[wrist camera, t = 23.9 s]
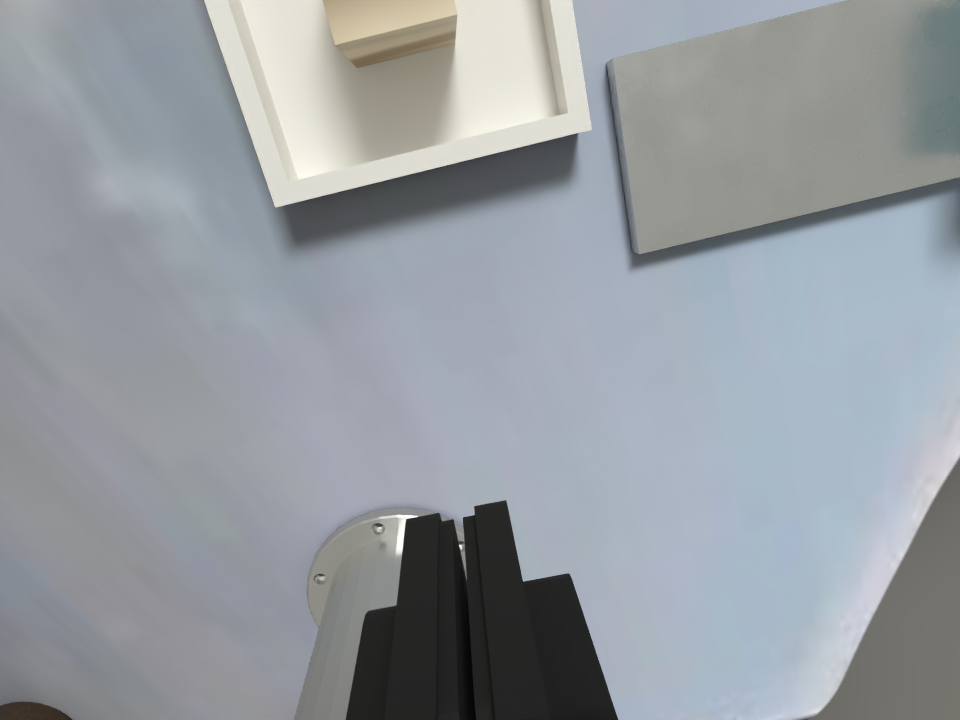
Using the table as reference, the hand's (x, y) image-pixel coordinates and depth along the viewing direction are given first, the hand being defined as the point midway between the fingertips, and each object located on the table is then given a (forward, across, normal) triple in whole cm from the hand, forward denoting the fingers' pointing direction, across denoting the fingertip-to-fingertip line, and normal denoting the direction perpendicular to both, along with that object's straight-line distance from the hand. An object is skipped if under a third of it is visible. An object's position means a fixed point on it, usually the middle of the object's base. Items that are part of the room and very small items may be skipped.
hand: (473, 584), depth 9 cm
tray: (+24, 0, -15) cm, 29 cm away
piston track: (+24, -24, -7) cm, 35 cm away
